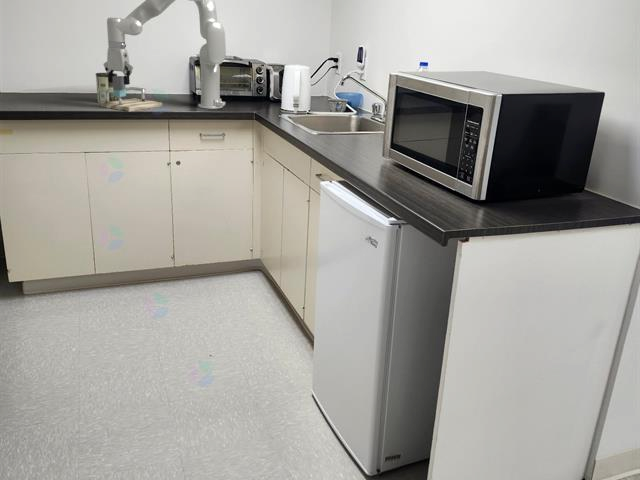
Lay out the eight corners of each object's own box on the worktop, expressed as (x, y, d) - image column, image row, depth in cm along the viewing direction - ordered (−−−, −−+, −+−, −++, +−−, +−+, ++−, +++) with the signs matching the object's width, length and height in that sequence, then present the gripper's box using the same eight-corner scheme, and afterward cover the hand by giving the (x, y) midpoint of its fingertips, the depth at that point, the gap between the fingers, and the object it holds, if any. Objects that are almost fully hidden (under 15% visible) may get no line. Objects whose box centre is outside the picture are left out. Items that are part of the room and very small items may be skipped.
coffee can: (118, 100, 306) (116, 72, 301) (119, 103, 297) (117, 75, 292) (97, 100, 302) (95, 72, 297) (97, 103, 293) (95, 74, 288)
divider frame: (146, 101, 297) (145, 88, 295) (116, 105, 280) (116, 91, 278) (134, 99, 300) (133, 86, 298) (104, 103, 283) (103, 90, 281)
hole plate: (162, 106, 297) (162, 102, 296) (129, 111, 277) (129, 107, 276) (134, 102, 304) (134, 98, 303) (101, 106, 284) (100, 102, 284)
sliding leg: (127, 103, 284) (125, 76, 280) (119, 104, 280) (117, 77, 275) (120, 102, 286) (119, 75, 281) (113, 103, 282) (111, 76, 277)
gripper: (136, 47, 273) (138, 84, 279) (109, 44, 280) (111, 81, 286) (125, 47, 267) (127, 86, 273) (96, 44, 274) (99, 82, 280)
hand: (119, 83), depth 280 cm, fingers open, 9 cm apart
